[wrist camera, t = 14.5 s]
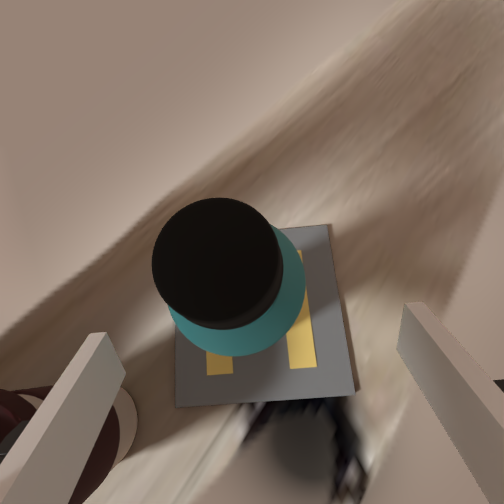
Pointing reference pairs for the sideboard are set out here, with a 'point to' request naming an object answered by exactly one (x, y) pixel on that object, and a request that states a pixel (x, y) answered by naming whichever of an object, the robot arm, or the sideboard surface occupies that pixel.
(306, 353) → the letter board
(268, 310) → the beverage bottle
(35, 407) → the coffee cup
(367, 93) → the sideboard surface
